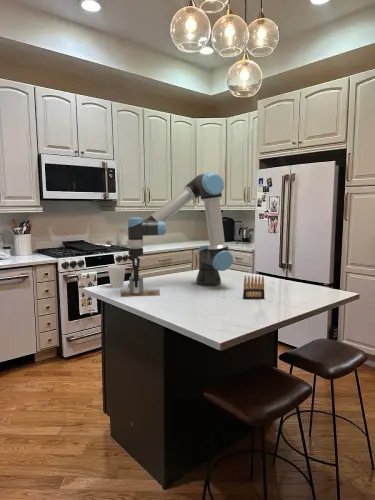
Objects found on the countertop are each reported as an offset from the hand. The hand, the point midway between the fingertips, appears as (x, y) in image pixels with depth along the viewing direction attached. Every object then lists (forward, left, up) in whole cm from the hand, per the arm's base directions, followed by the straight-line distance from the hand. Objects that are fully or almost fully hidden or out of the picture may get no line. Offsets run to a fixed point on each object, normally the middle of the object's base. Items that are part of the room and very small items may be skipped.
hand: (136, 291), depth 186 cm
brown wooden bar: (-2, 0, -1) cm, 2 cm away
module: (0, 0, 0) cm, 0 cm away
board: (-2, 0, -2) cm, 3 cm away
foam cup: (+11, -17, -2) cm, 20 cm away
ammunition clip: (-59, +13, -2) cm, 60 cm away
